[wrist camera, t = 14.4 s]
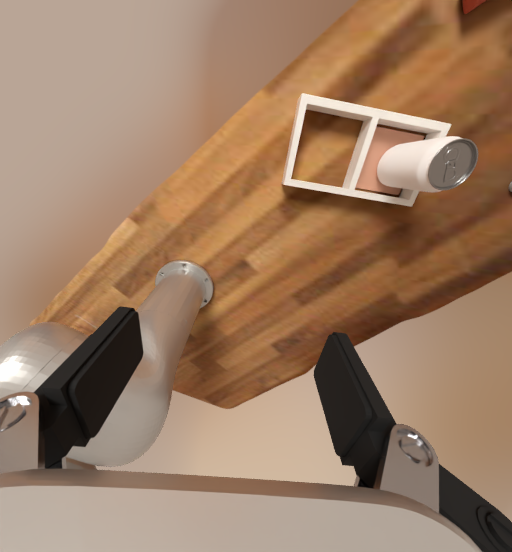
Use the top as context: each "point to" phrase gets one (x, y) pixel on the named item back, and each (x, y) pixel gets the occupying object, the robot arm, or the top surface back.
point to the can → (428, 164)
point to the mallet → (471, 5)
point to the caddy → (363, 147)
